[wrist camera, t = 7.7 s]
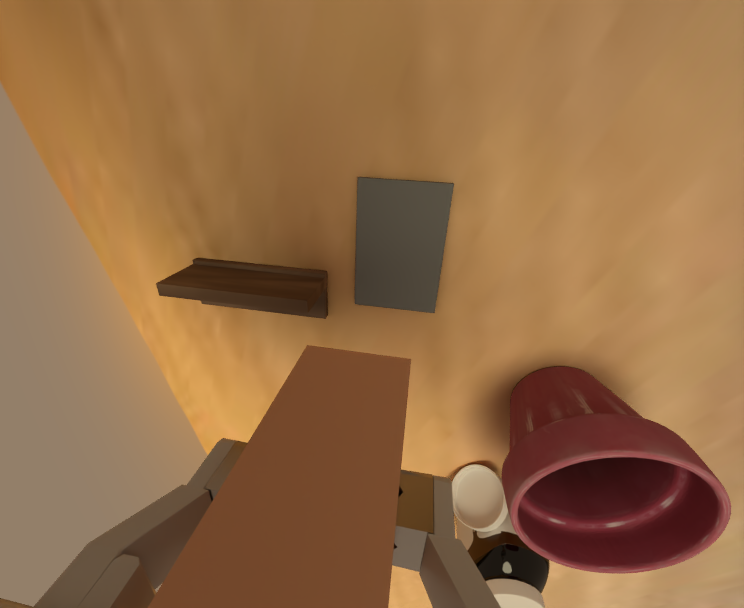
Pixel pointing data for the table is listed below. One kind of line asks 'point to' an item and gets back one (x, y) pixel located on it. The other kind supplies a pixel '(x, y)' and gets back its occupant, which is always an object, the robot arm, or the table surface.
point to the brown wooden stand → (251, 287)
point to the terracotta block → (306, 496)
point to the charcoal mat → (400, 242)
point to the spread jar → (496, 540)
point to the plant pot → (604, 480)
